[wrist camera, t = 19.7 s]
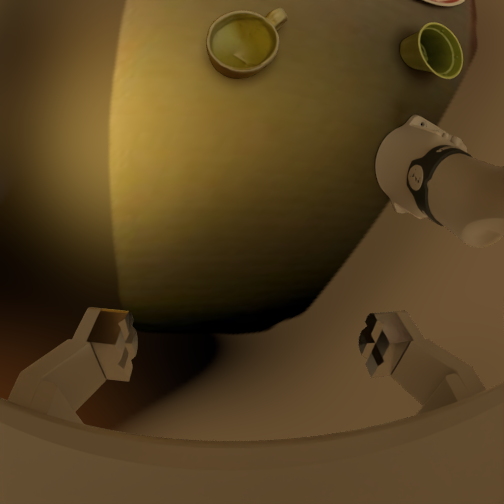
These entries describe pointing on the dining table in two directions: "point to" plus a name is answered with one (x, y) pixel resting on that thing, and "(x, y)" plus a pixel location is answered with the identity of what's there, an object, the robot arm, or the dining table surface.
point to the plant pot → (433, 51)
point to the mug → (244, 41)
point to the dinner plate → (445, 2)
